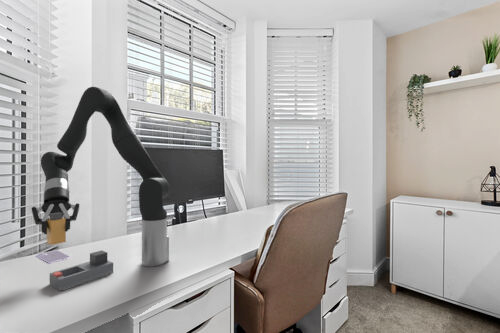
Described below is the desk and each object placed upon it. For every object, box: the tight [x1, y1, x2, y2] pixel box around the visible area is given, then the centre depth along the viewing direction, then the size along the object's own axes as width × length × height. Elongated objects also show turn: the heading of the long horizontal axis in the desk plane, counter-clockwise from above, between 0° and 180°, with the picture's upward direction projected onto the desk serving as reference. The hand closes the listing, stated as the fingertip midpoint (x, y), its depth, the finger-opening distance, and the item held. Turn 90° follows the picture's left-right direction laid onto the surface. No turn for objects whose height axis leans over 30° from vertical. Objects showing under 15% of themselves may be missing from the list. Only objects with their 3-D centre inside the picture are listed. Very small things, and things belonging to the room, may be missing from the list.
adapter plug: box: [46, 212, 67, 246], centre depth 86 cm, size 4×4×10 cm
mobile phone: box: [35, 249, 71, 264], centre depth 104 cm, size 8×1×15 cm
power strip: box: [49, 250, 114, 292], centre depth 85 cm, size 16×8×7 cm, turn 146°
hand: (56, 231), depth 85 cm, fingers closed on adapter plug, 5 cm apart
